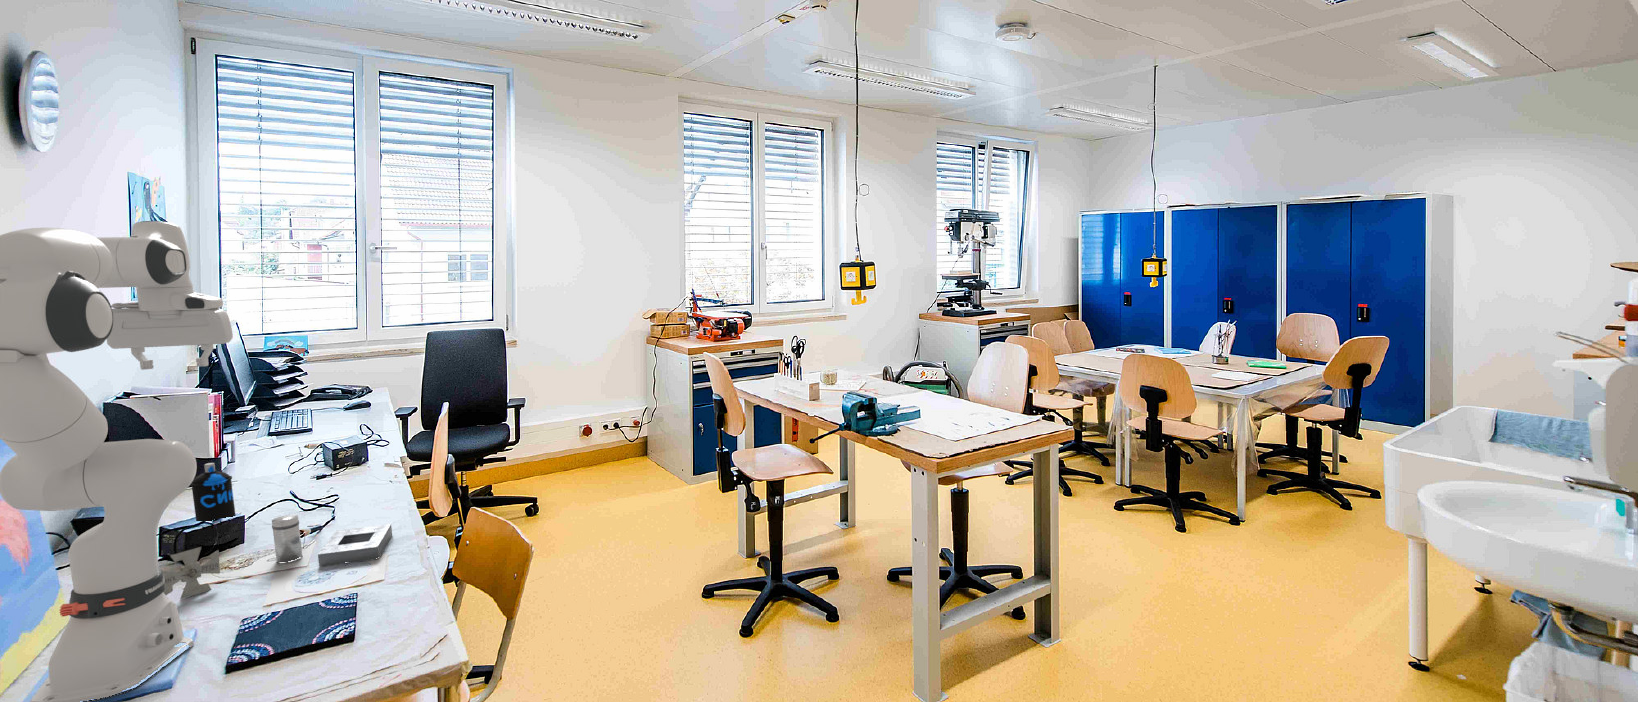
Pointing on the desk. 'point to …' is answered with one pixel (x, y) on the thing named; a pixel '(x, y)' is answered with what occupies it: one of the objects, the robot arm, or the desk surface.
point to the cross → (191, 572)
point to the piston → (287, 538)
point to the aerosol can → (213, 495)
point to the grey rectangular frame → (355, 545)
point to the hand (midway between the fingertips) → (175, 367)
